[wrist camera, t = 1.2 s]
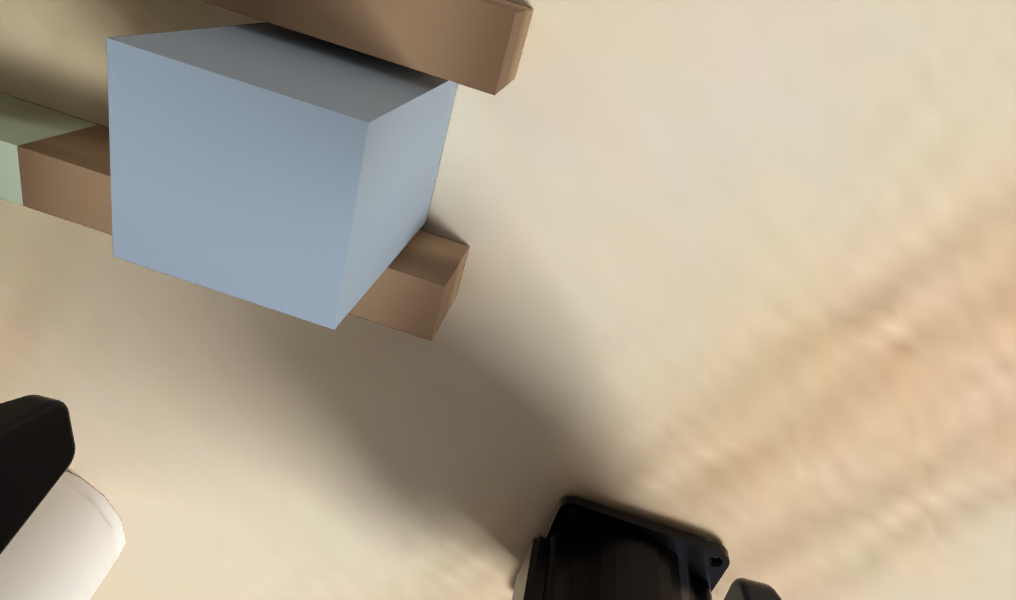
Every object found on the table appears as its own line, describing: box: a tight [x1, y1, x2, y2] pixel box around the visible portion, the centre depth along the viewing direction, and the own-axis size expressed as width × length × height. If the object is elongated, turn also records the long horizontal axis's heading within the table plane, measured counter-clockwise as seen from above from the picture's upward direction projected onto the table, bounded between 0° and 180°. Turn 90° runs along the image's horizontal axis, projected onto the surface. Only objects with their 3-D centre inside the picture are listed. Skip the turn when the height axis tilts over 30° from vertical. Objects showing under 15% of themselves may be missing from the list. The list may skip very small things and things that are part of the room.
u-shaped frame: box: [0, 0, 533, 341], centre depth 17 cm, size 19×9×4 cm, turn 74°
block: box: [106, 22, 458, 330], centre depth 15 cm, size 5×4×7 cm
